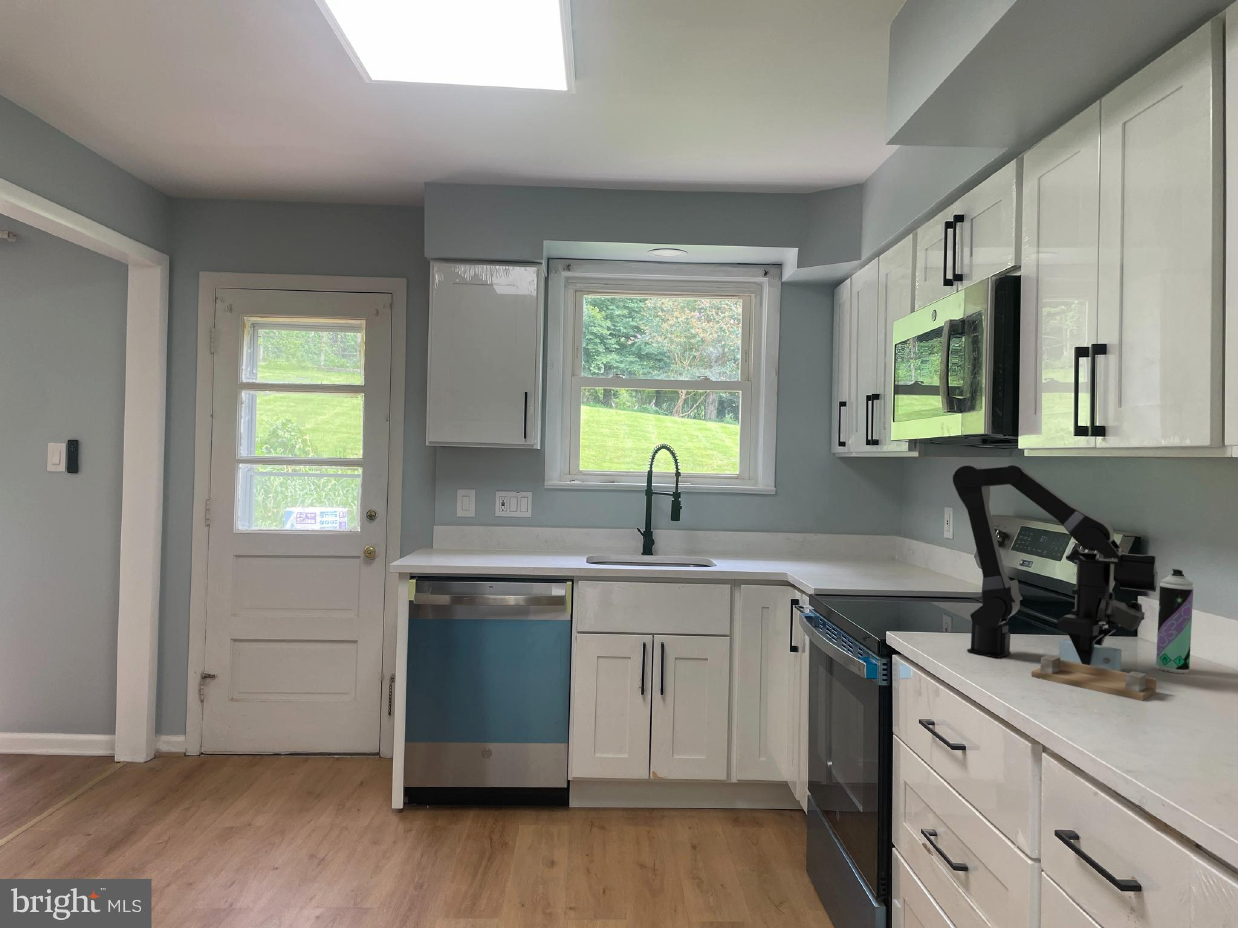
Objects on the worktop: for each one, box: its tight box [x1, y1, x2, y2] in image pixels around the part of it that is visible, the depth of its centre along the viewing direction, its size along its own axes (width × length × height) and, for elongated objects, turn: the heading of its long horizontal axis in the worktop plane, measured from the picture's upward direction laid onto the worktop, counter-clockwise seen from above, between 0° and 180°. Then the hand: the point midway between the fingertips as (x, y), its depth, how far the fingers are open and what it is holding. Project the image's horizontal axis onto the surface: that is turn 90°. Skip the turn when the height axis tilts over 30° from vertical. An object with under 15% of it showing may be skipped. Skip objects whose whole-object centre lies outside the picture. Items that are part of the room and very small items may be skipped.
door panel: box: [1058, 639, 1122, 672], centre depth 158 cm, size 10×4×5 cm, turn 42°
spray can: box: [1155, 568, 1194, 674], centre depth 162 cm, size 6×6×20 cm
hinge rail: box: [1030, 654, 1157, 701], centre depth 148 cm, size 18×8×4 cm, turn 43°
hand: (1089, 665), depth 158 cm, fingers closed on door panel, 3 cm apart
